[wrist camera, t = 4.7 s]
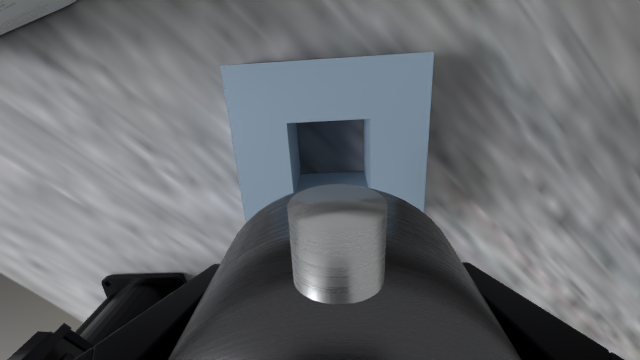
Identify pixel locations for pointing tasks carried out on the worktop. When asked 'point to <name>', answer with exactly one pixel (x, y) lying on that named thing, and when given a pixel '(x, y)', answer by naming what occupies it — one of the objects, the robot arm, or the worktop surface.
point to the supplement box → (26, 11)
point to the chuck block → (330, 105)
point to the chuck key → (342, 287)
